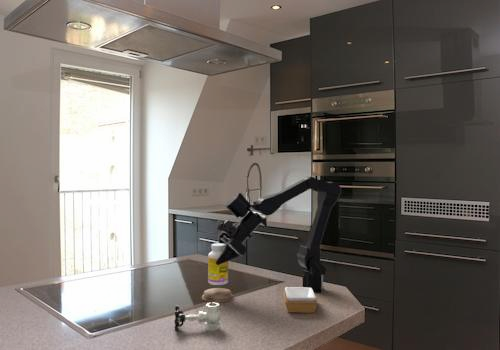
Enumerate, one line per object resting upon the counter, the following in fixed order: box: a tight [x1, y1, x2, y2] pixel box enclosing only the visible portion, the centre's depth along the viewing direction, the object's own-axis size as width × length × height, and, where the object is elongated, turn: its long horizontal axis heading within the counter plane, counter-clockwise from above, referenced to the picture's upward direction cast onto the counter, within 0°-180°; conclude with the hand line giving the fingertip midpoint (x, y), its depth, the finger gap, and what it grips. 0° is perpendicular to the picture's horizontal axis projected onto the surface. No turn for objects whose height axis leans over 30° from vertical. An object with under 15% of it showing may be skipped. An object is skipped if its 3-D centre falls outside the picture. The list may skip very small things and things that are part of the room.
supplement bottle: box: [207, 242, 229, 286], centre depth 136 cm, size 7×7×13 cm
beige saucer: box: [201, 287, 234, 304], centre depth 136 cm, size 10×10×2 cm
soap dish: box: [282, 286, 319, 314], centre depth 128 cm, size 12×10×5 cm
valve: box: [174, 302, 222, 332], centre depth 109 cm, size 7×7×12 cm
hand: (214, 261), depth 136 cm, fingers closed on supplement bottle, 7 cm apart
